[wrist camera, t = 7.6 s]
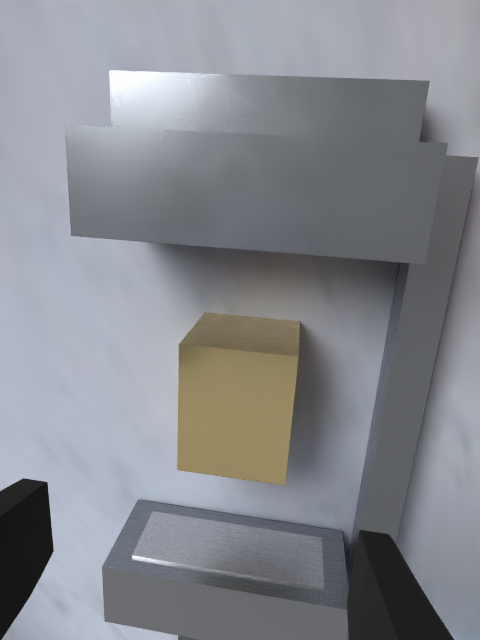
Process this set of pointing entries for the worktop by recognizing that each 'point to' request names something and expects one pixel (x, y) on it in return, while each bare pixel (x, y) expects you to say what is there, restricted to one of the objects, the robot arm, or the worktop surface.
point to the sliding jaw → (225, 576)
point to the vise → (293, 208)
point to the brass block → (237, 396)
